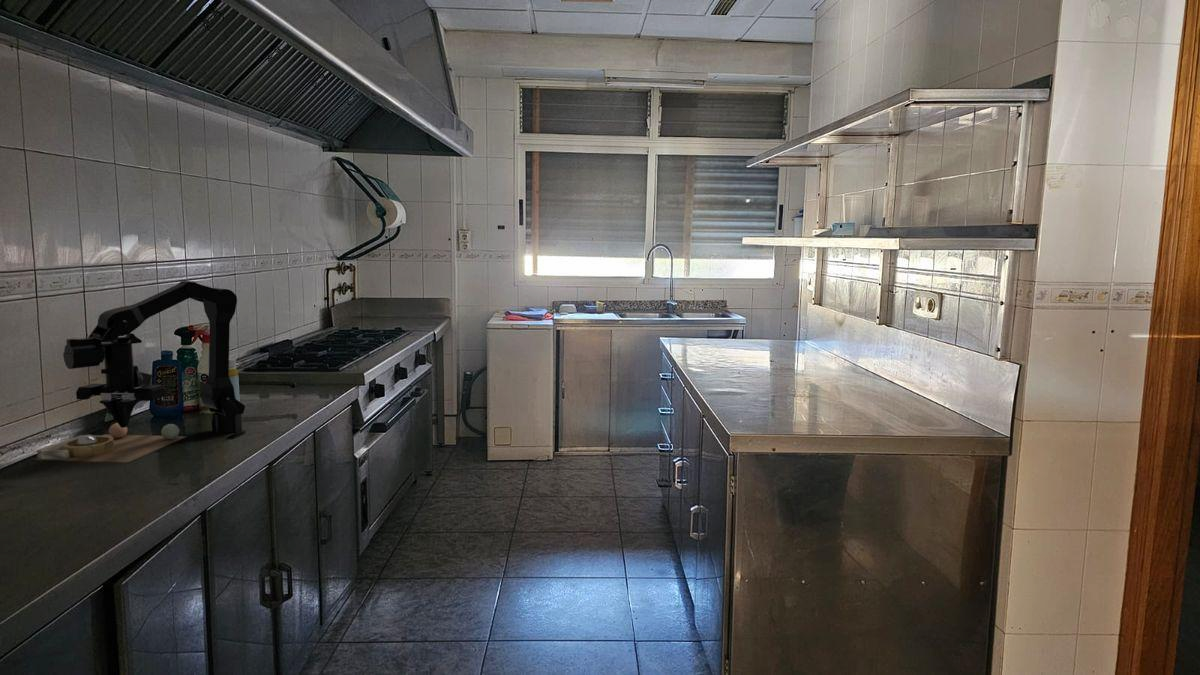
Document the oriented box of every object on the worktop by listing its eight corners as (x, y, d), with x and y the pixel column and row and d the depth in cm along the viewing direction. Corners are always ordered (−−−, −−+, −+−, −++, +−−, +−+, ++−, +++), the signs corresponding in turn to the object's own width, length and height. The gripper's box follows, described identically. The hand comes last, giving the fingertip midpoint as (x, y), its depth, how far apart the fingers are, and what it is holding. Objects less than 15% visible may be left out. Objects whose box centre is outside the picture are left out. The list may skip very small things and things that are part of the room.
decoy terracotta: (131, 436, 191) (130, 421, 191) (120, 440, 187) (119, 425, 187) (117, 435, 192) (115, 420, 191) (105, 439, 188) (104, 424, 187)
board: (187, 440, 192) (186, 429, 191) (127, 467, 169) (126, 453, 169) (104, 438, 193) (103, 426, 193) (34, 464, 171) (33, 451, 170)
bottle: (223, 409, 227) (220, 361, 225) (210, 406, 231) (207, 359, 229) (244, 405, 233) (241, 358, 231) (231, 402, 237) (229, 356, 235)
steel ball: (85, 431, 179) (85, 447, 180) (72, 436, 175) (73, 452, 176) (101, 433, 179) (101, 448, 180) (89, 438, 175) (89, 454, 176)
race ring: (123, 446, 182) (122, 436, 182) (94, 457, 172) (93, 447, 172) (84, 445, 183) (83, 435, 182) (53, 457, 173) (52, 446, 172)
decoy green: (183, 437, 191) (182, 422, 190) (173, 441, 187) (172, 426, 186) (168, 437, 191) (167, 422, 190) (158, 441, 187) (157, 425, 186)
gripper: (178, 358, 181) (182, 420, 183) (106, 357, 182) (111, 418, 185) (148, 366, 170) (152, 431, 172) (71, 364, 171) (77, 429, 173)
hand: (124, 427), depth 176 cm, fingers closed
